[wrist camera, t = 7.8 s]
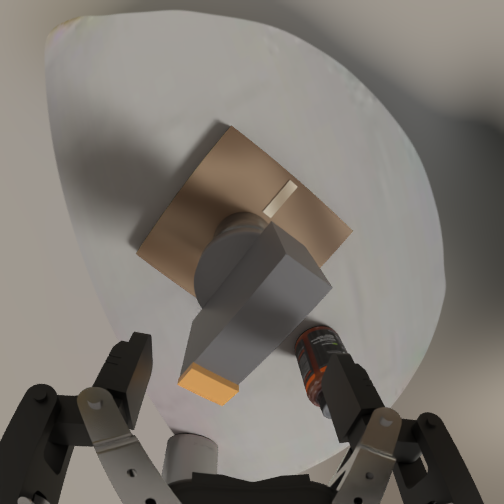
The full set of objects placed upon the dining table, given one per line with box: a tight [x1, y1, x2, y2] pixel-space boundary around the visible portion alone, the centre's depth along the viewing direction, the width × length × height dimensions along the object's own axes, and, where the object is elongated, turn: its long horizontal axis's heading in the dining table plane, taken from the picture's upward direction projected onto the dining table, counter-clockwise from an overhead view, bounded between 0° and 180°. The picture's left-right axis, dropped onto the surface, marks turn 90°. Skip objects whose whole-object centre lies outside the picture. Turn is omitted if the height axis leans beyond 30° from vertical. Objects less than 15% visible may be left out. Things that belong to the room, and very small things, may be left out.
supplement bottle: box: [295, 326, 347, 419], centre depth 30 cm, size 6×6×11 cm
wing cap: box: [177, 221, 332, 406], centre depth 17 cm, size 9×7×8 cm
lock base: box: [136, 126, 353, 297], centre depth 26 cm, size 16×16×9 cm
